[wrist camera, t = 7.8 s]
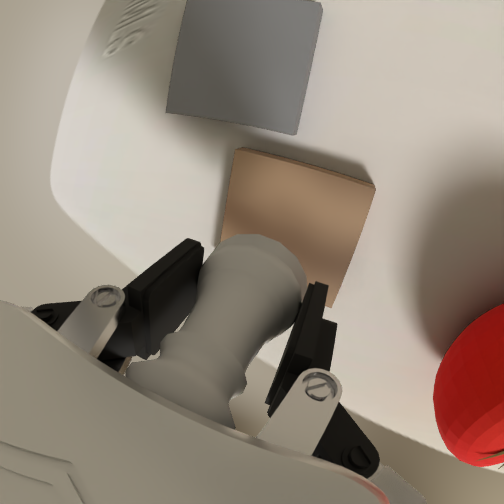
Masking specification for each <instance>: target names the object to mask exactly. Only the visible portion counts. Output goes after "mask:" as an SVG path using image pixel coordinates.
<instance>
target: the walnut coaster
mask: <svg viewBox="0 0 504 504" xmlns="http://www.w3.org/2000/svg"><path fill="white" fill-rule="evenodd" d="M375 191H376V188H375V185H373V184H370V183H367V182H364V181H361V180H358V179H355V178H352V177H349V176H346V175H343V174H340V173H337V172H334V171H330V170H327V169H324V168H320V167H317V166H314V165H310V164H307V163H303V162H299V161H296V160H292V159H288V158H285V157H281V156H277V155H273V154H269V153H265V152H261V151H257V150H252V149H248V148H244V147H242V148H238V149H235V153H234V159H233V165H232V170H231V176H230V182H229V189H228V195H227V201H226V207H225V214H224V220H223V227H222V233H221V240H220V242H222V241H224V240H226V239H228V238H230V237H233V236H235V235H237V234H260V235H262V236H265V237H267V238H270V239H273V240H275V241H278V242H280V243H281V244H282V245H283V246H285V247H286V248H287V249H288V250H289V251H290V252H291V253H293V254H294V255H295V256H296V257H297V258H298V260H299V262H300V264H301V266H302V268H303V270H304V272H305V274H306V276H307V287H308V285H309V283H311V284H315V281H317V282H320V283H323V284H326V285H329V288H328V293H327V298H326V303H325V306H327V307H330V308H332V305H333V303H334V301H335V298H336V296H337V294H338V291H339V289H340V286H341V284H342V281H343V279H344V277H345V274H346V272H347V269H348V266H349V264H350V261H351V259H352V256H353V254H354V251H355V248H356V246H357V243H358V240H359V238H360V235H361V232H362V229H363V226H364V224H365V221H366V218H367V215H368V212H369V209H370V206H371V203H372V200H373V197H374V194H375Z"/></svg>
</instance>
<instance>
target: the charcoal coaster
mask: <svg viewBox="0 0 504 504" xmlns="http://www.w3.org/2000/svg"><path fill="white" fill-rule="evenodd" d="M322 12H323V9H322V6H321V3H319V2H313V1H306V0H187V4H186V7H185V12H184V16H183V20H182V24H181V29H180V33H179V38H178V43H177V48H176V53H175V58H174V63H173V69H172V75H171V81H170V87H169V93H168V100H167V107H166V113H173V114H181V115H189V116H196V117H202V118H209V119H215V120H221V121H227V122H232V123H238V124H243V125H248V126H253V127H258V128H262V129H267V130H271V131H276V132H280V133H284V134H288V135H296V134H297V130H298V126H299V121H300V117H301V112H302V107H303V103H304V98H305V94H306V89H307V84H308V80H309V75H310V70H311V66H312V61H313V56H314V51H315V47H316V42H317V37H318V32H319V27H320V22H321V17H322Z"/></svg>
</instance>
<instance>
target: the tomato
mask: <svg viewBox="0 0 504 504" xmlns="http://www.w3.org/2000/svg"><path fill="white" fill-rule="evenodd" d="M433 402H434V409H435V418H436V422H437V426H438V429H439V433H440V435H441V437H442V439H443V441H444V443H445V445H446V447H447V449H448V450H449V451H450V452H451V453H452V454H454V455H455V456H456V457H457V458H458V459H459V460H460V461H463V462H465V463H468V464H471V465H473V466H478V467H484V466H491V465H495V464H499V463H503V462H504V304H501V305H499V306H497V307H495V308H493V309H491V310H489V311H488V312H486V313H484V314H483V315H481V316H480V317H478V318H477V319H476V320H474V321H473V322H472V323H471V324H470V325H469V326H467V327H466V328H465V329H464V330H463V332H462V333H461V334H460V335H459V336H458V337H457V338H456V340H455V341H454V342H453V343H452V345H451V346H450V348H449V349H448V351H447V352H446V354H445V356H444V358H443V360H442V362H441V364H440V367H439V369H438V372H437V374H436V379H435V384H434V393H433ZM502 466H504V464H503V465H502ZM502 466H501V467H502ZM501 467H500V468H501ZM500 468H499V469H500Z"/></svg>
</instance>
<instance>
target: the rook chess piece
mask: <svg viewBox="0 0 504 504" xmlns="http://www.w3.org/2000/svg"><path fill="white" fill-rule="evenodd" d="M306 290H307V276H306V274H305V272H304V270H303V268H302V266H301V264H300V262H299V260H298V258H297V257H296V256H295V255H294V254H293V253H291V252H290V251H289V250H288V249H287V248H286V247H285V246H283V245H282V244H281V243H280V242H278V241H275V240H273V239H270V238H267V237H265V236H262V235H260V234H237V235H235V236H233V237H230V238H228V239H226V240H224V241H222V242H220V243H219V245H218V246H217V247H216V248H215V250H214V251H213V252H212V253H211V255H210V256H209V257H208V258H207V260H206V261H205V262H204V264H203V265H202V267H201V269H200V272H199V278H198V284H197V294H196V303H195V305H194V307H193V309H192V310H191V312H190V314H189V316H188V317H187V319H186V321H185V323H184V325H183V326H182V327H181V329H180V330H179V331H178V332H174V333H170V334H167V335H166V336H165V337H164V339H163V340H162V341H161V343H160V356H159V357H158V358H157V359H154V360H147V361H141V362H132V363H131V364H130V365H129V367H128V368H127V369H126V371H125V373H126V377H127V378H128V379H130V380H132V381H134V382H135V383H137V384H139V385H141V386H142V387H144V388H146V389H148V390H150V391H152V392H153V393H155V394H157V395H159V396H161V397H163V398H165V399H167V400H169V401H171V402H173V403H175V404H177V405H179V406H181V407H183V408H185V409H187V410H190V411H192V412H194V413H196V414H198V415H200V416H203V417H205V418H207V419H210V420H212V421H214V422H217V423H219V424H221V425H224V426H226V427H229V428H231V429H234V430H235V424H234V421H233V418H232V414H231V411H230V408H229V404H228V403H229V401H230V400H231V399H233V398H235V397H236V396H238V395H240V394H242V393H243V391H244V389H245V387H246V385H247V381H246V377H245V372H246V369H247V368H248V366H249V364H250V363H251V362H252V360H253V359H254V357H255V356H256V355H257V353H258V352H259V350H260V349H261V348H262V346H263V345H264V344H265V343H268V342H269V341H271V340H272V339H273V338H275V337H278V336H279V335H281V334H282V333H283V332H285V331H286V330H287V329H289V328H290V327H291V326H292V325H293V324H294V323H295V321H296V318H297V315H298V313H299V310H300V307H301V304H302V301H303V299H304V296H305V293H306Z"/></svg>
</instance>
